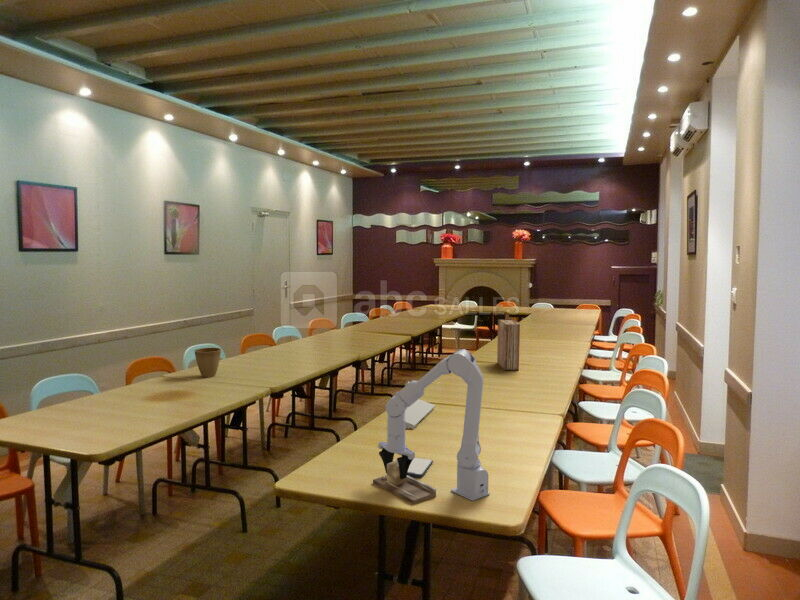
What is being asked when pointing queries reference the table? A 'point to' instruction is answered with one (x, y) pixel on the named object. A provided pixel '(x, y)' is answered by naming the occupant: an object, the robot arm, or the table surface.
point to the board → (408, 489)
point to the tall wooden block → (508, 344)
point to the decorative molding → (417, 413)
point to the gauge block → (394, 474)
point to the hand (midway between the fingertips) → (395, 475)
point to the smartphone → (419, 467)
